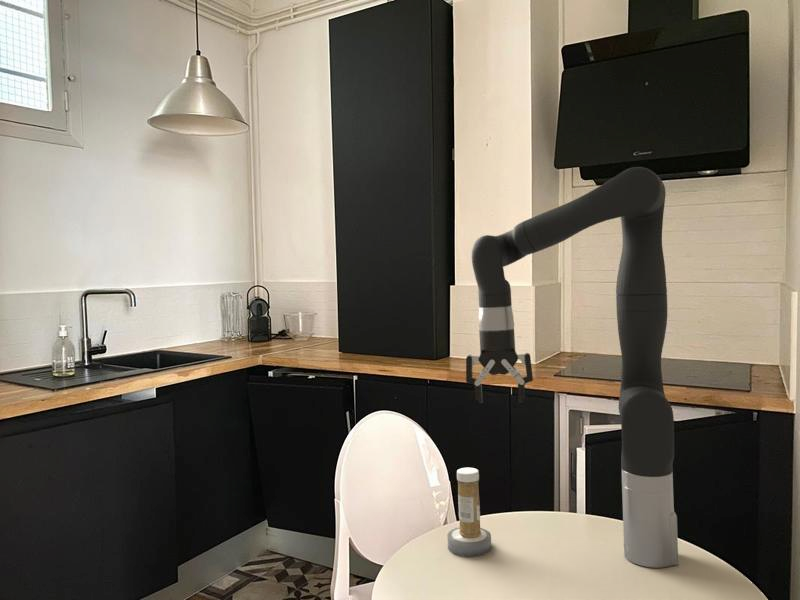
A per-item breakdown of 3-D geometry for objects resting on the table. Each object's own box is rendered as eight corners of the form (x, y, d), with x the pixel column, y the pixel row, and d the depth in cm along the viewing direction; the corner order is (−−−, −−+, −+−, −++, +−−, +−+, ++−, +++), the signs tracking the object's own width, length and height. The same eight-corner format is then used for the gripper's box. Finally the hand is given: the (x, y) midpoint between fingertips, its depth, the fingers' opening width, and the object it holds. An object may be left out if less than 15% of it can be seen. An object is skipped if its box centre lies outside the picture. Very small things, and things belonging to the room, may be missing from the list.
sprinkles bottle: (485, 534, 126) (483, 469, 126) (470, 540, 124) (467, 474, 123) (469, 528, 130) (467, 465, 130) (454, 534, 127) (452, 470, 127)
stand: (492, 539, 130) (492, 526, 130) (490, 557, 122) (489, 544, 122) (450, 537, 132) (450, 525, 132) (445, 555, 123) (444, 542, 123)
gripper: (462, 330, 130) (466, 406, 131) (530, 327, 128) (534, 404, 128) (465, 327, 138) (468, 399, 138) (529, 325, 135) (533, 398, 135)
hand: (500, 402), depth 133 cm, fingers open, 8 cm apart
